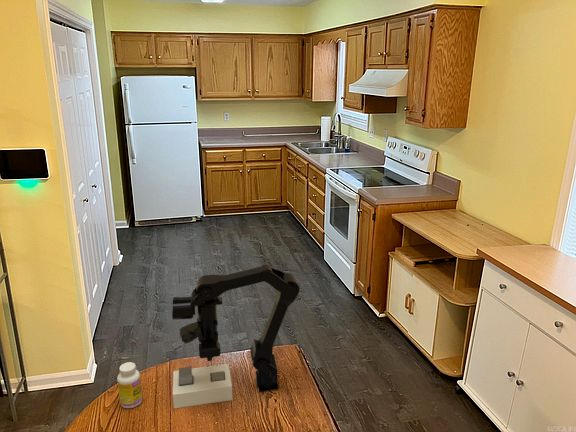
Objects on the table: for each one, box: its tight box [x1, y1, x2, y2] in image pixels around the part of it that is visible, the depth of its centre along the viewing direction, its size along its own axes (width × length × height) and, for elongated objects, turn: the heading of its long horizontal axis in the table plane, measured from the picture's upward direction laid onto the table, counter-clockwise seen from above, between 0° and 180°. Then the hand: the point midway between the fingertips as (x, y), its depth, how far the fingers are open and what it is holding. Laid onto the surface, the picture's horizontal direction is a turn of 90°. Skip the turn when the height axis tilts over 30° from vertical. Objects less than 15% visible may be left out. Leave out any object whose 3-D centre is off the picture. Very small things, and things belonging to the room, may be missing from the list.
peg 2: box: [211, 372, 225, 382], centre depth 146 cm, size 4×4×5 cm
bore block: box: [172, 363, 234, 409], centre depth 145 cm, size 18×12×5 cm, turn 102°
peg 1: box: [178, 365, 193, 386], centre depth 143 cm, size 4×4×5 cm
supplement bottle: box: [116, 361, 143, 409], centre depth 140 cm, size 7×7×13 cm
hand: (209, 360), depth 143 cm, fingers closed
